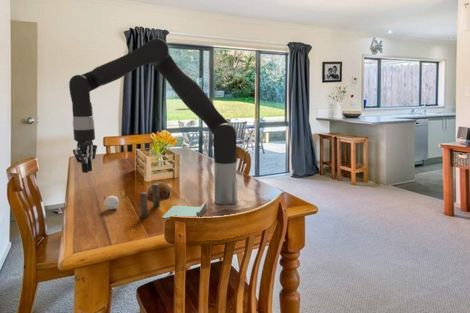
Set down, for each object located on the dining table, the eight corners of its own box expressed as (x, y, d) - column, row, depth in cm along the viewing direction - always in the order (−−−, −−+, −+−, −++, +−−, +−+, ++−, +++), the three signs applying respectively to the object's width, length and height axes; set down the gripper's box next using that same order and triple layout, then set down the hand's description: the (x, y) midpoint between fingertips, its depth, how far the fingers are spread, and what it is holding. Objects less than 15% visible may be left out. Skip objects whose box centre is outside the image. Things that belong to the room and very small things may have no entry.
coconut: (164, 199, 166) (158, 183, 167) (177, 194, 160) (171, 177, 161) (146, 204, 159) (141, 188, 160) (159, 199, 152) (154, 181, 153)
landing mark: (207, 207, 143) (207, 207, 143) (198, 219, 129) (198, 219, 129) (173, 206, 145) (173, 205, 145) (161, 218, 131) (161, 217, 131)
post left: (148, 215, 134) (147, 192, 132) (146, 217, 131) (145, 194, 130) (142, 215, 134) (141, 192, 133) (139, 217, 132) (138, 194, 130)
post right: (160, 205, 146) (159, 184, 144) (158, 207, 144) (157, 185, 142) (154, 204, 146) (153, 183, 145) (152, 206, 144) (151, 185, 142)
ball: (122, 207, 143) (121, 194, 142) (115, 211, 138) (114, 198, 137) (109, 206, 144) (108, 193, 143) (102, 211, 139) (101, 197, 138)
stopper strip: (206, 208, 142) (206, 202, 141) (199, 218, 130) (199, 212, 130) (204, 208, 142) (203, 202, 141) (196, 218, 130) (196, 212, 130)
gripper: (82, 130, 129) (86, 176, 133) (102, 126, 143) (105, 168, 146) (63, 129, 131) (67, 175, 134) (84, 126, 144) (88, 168, 147)
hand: (87, 171), depth 140 cm, fingers closed
